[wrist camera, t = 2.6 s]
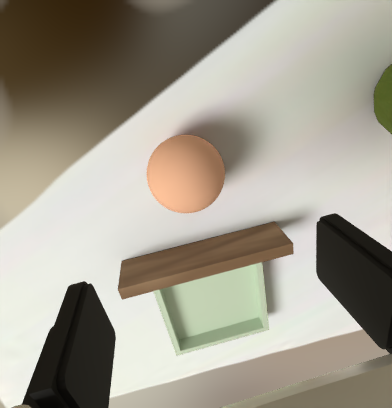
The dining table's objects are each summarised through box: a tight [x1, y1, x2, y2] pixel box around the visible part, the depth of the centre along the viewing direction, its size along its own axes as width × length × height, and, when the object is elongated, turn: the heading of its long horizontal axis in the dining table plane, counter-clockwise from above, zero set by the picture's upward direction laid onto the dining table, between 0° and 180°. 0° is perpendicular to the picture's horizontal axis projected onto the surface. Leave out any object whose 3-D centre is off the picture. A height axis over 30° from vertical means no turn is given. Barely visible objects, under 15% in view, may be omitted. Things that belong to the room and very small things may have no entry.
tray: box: [153, 262, 269, 356], centre depth 30 cm, size 11×11×2 cm
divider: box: [118, 222, 293, 299], centre depth 26 cm, size 1×16×4 cm, turn 101°
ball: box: [147, 135, 225, 213], centre depth 21 cm, size 6×6×6 cm
